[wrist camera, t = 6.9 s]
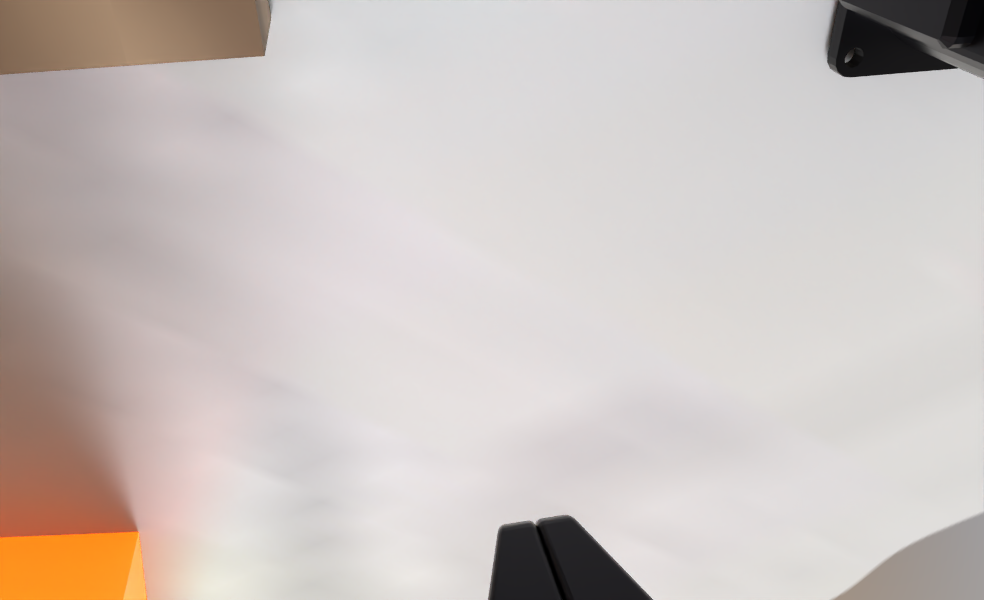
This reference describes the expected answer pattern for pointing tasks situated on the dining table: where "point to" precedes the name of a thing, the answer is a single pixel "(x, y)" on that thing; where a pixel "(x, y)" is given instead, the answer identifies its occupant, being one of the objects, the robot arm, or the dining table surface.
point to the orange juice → (72, 567)
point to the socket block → (127, 32)
